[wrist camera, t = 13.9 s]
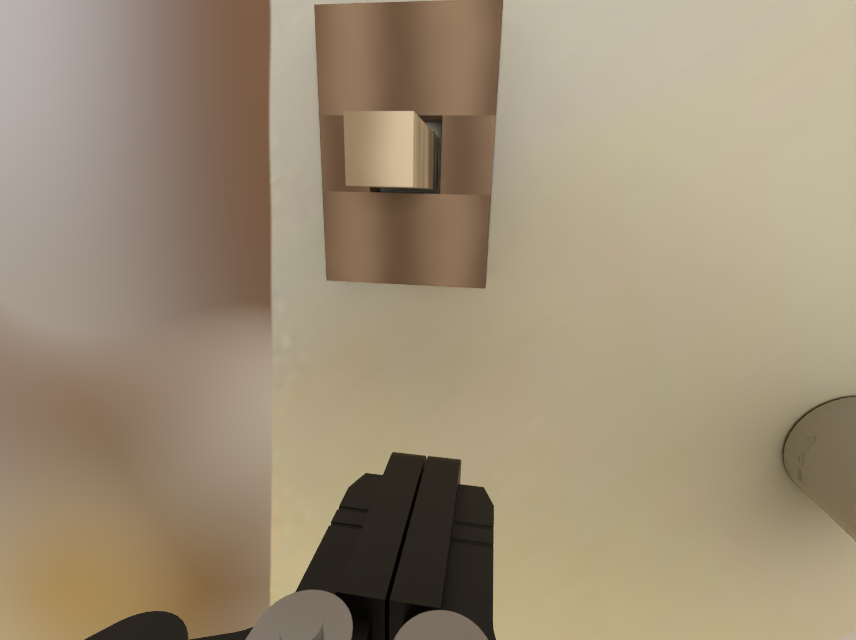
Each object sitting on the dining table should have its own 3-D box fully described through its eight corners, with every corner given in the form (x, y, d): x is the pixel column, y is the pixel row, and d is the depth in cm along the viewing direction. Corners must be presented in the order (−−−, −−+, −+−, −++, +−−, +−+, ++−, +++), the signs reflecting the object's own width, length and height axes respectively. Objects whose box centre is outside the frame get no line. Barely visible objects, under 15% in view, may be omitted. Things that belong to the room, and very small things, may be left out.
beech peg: (439, 137, 32) (414, 109, 21) (438, 189, 33) (413, 188, 22) (390, 136, 32) (342, 110, 22) (390, 188, 33) (344, 186, 23)
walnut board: (501, 17, 29) (503, -2, 26) (485, 280, 34) (485, 288, 31) (330, 22, 31) (314, 4, 28) (339, 273, 36) (326, 280, 33)
